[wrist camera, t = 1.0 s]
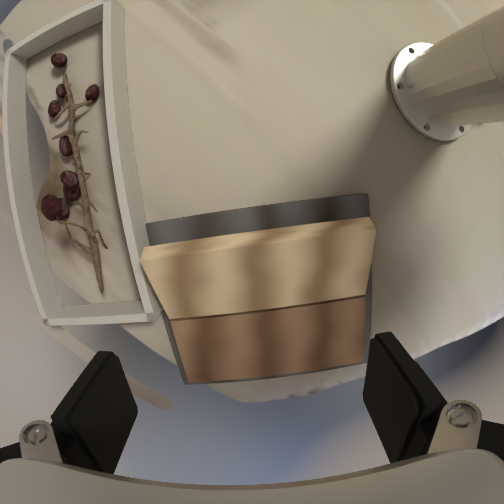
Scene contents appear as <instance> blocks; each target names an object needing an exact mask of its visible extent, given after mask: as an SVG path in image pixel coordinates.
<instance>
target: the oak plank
mask: <svg viewBox="0 0 504 504" xmlns="http://www.w3.org/2000/svg"><path fill="white" fill-rule="evenodd" d="M376 230H377V229H376V227H375V226H374V224H373V222H372V221H371V219H370V217H363V218H355V219H346V220H338V221H330V222H321V223H313V224H305V225H298V226H290V227H282V228H274V229H267V230H259V231H252V232H245V233H237V234H230V235H223V236H216V237H209V238H202V239H195V240H188V241H181V242H174V243H168V244H161V245H154V246H148V247H144V249H143V252H142V255H141V258H140V262H141V264H142V266H143V269H144V271H145V273H146V275H147V277H148V279H149V281H150V283H151V285H152V287H153V289H154V291H155V293H156V295H157V296H158V298H159V300H160V302H161V304H162V306H163V308H164V310H165V312H166V314H167V315H168V317H169V319H178V318H190V317H200V316H211V315H221V314H230V313H239V312H248V311H256V310H264V309H272V308H280V307H287V306H294V305H302V304H308V303H315V302H322V301H328V300H335V299H341V298H347V297H353V296H359V295H365V293H366V288H367V283H368V278H369V272H370V267H371V261H372V255H373V249H374V243H375V236H376Z"/></svg>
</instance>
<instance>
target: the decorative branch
mask: <svg viewBox="0 0 504 504" xmlns="http://www.w3.org/2000/svg"><path fill="white" fill-rule="evenodd" d="M51 62H52V64H53V65H54V66H55V67H57V68H62V67H64V66H65V65H67V64H66V63H67V57H66V56H65V55H64V54H62V53H55V54H53V55H52V57H51ZM65 72H66V69H65ZM63 80H64V84H59V85H58V86H57V88H56V94H57V96H58V97H59V98H65V100H64V104H63V108H62V109H61V107H60V104H59V102H58V101H56V100H53V101H52V102H51V103H50V105H49V108H48V113H49V115H50V117H55V118H54V120H56V119H57V118H58V117H59V116H60V115H61V114H62V113H63V111H64V110H66V109H67V108H68V107H70V118H69V126H68V129H67V130H66V131H65V132H63V133H61V134H59V135H57V136H55V137H54V138H52V139H56V138H59V137H61V138H60V141H59V148H60V151H61V153H62V154H63V155H64V156H71V155H72V154H73V155H72V156H71V158H73V157H74V158H75V163H76V170H77V174H76V173H74V172H72V171H63V172H62V174H61V175H60V179H61V182H62V183H63V184H64V185H63V192H64V196H65V197H66V199H67V200H69V201H74V200H75V199H77V198H78V197H79V194H80V189H81V195H82V201H83V204H82V203H80V202H73V203H74V204H77V205H80V206H81V207H82V209H83V212H84V225H85V227H86V229H87V230H86V229H85V228H84V227H82V226H79V225H76V224H72V223H68V222H63V221H57V222H61V223H65V225H66V224H70V225H74V226H78V227H80V228H81V229H83V230H84V231H85V232H86V233H87V234H88V236H89V240H90V245H91V248H88V247H86V246H84V245H83V244H81V243H80V242H78V241H77V240H76V239H75V240H73V239H72V237H71V235H70V233H69V230H68V228H67V225H66V228H67V231H68V234H69V236H70V238H71V239H72V241H73V242H75V243H77V244H78V245H79V246H80V247H81V249H82V250H83V251H84V252H85V253H87V254H91V255H92V257H93V262H94V267H95V272H96V276H97V280H98V285H99V288H100V291H101V293H103V281H102V273H101V265H100V255H99V248H98V242H97V239H96V236H95V233H96V232H98V233H99V236H100V238H101V240H102V243H103V245H104V246H105V248H106V249H108V248H107V246H106V244H105V243H104V241H103V239H102V236H101V234H100V231H99V230H93V228H92V223H91V217H90V209H89V205H90V206H91V207H92V208H93V209H94V210H95V211H96V212H97V210H96V209H95V207H94V205H93V204H92V202H91V201H90V200H89V198H88V195H87V189H86V184H85V180H84V178H85V175H87V174H91V173H85V172H84V168H83V164H82V162H81V157H80V153H79V149H78V145H77V142H78V139H79V137H80V134H81V133H82V132H85V133H88V132H87V131H79V133H78V135H77V138H76V139H75V137H74V122H75V121H76V120H77V119H78V118H79V117H80V116H79V115H77V116H75V111H76V110H77V109H78V108H80V107H82V106H84V105H86V104H88V103H90V102H91V101H94V100H95V99H97V97H98V96H99V87H98V86H97V85H96V84H94V85H91V86H90V87H89V88H88V89H87V90H86V93H85V97H86V99H87V100H88V101H87V102H83V103H80V104H74V101H73V96H72V92H71V89H70V85H69V83H68V78H67V75H66V73H63ZM70 84H71V83H70ZM67 96H68V103H67V104H66V105H65V102H66V97H67ZM60 110H61V111H60ZM79 184H80V185H79ZM79 187H80V189H79ZM41 209H42V212H43V214H44V216H45V217H46V218H47V219H48V220H50V221H54V220H57V219H59V220H64V221H65V219H66V218H67V217H68V216H69V206H68V204H67V202H66V201H65V200H64V199H62V198H57V197H56V196H55V195H52V194H48V195H46V196H45V197H44V198H43V199H42V201H41ZM97 213H98V212H97Z"/></svg>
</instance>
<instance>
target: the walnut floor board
mask: <svg viewBox="0 0 504 504" xmlns="http://www.w3.org/2000/svg"><path fill="white" fill-rule="evenodd" d="M363 217H370V216H369V202H368V194H358V195H348V196H339V197H329V198H320V199H312V200H303V201H295V202H287V203H279V204H271V205H263V206H256V207H249V208H242V209H235V210H228V211H221V212H214V213H208V214H201V215H195V216H189V217H182V218H176V219H170V220H164V221H159V222H153V223H147V224H145V225H146V230H147V235H148V240H149V245H150V246H154V245H161V244H168V243H174V242H181V241H188V240H195V239H202V238H209V237H216V236H223V235H230V234H237V233H245V232H252V231H259V230H267V229H274V228H282V227H290V226H298V225H305V224H313V223H321V222H330V221H338V220H346V219H355V218H363ZM371 291H372V274H371V267H370V272H369V278H368V283H367V288H366V293H365V295H359V296H353V297H347V298H341V299H335V300H328V301H322V302H315V303H308V304H302V305H294V306H287V307H280V308H272V309H264V310H256V311H248V312H239V313H230V314H221V315H211V316H200V317H190V318H178V319H169V317H168V315H167V314H166V312H165V310H164V309H163V310H162V314H163V317H164V321H165V324H166V328H167V331H168V334H169V338H170V341H171V344H172V348H173V351H174V354H175V357H176V360H177V363H178V366H179V369H180V372H181V375H182V378H183V381H184V384H208V383H224V382H238V381H249V380H259V379H269V378H277V377H285V376H293V375H300V374H307V373H313V372H319V371H325V370H331V369H337V368H342V367H347V366H352V365H357V364H362V363H367V362H368V355H369V346H370V330H371Z"/></svg>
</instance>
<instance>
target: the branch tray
mask: <svg viewBox="0 0 504 504" xmlns="http://www.w3.org/2000/svg"><path fill="white" fill-rule="evenodd" d="M100 22H103V73H104V91H105V105H106V116H107V126H108V135H109V144H110V151H111V159H112V166H113V172H114V179H115V185H116V191H117V197H118V202H119V207H120V213H121V218H122V223H123V228H124V232H125V237H126V241H127V246H128V250H129V254H130V259H131V263H132V267H133V271H134V275H135V279H136V282H137V286H138V290H139V293H140V297H141V300H135V301H124V302H112V303H100V304H87V305H74V306H62V304H61V301H60V298H59V295H58V292H57V289H56V286H55V283H54V279H53V276H52V273H51V269H50V266H49V262H48V258H47V254H46V251H45V247H44V242H43V238H42V234H41V229H40V225H39V220H38V215H37V210H36V205H35V199H34V193H33V187H32V179H31V172H30V164H29V154H28V142H27V127H26V68H27V59H29V58H30V57H32V56H34V55H35V54H37V53H39V52H41V51H42V50H44V49H46V48H48V47H50V46H51V45H53V44H55V43H57V42H59V41H61V40H63V39H65V38H67V37H69V36H71V35H73V34H75V33H77V32H79V31H82V30H84V29H86V28H88V27H91V26H93V25H95V24H98V23H100ZM3 141H4V155H5V165H6V175H7V182H8V190H9V196H10V202H11V208H12V214H13V219H14V224H15V229H16V233H17V238H18V242H19V246H20V250H21V254H22V257H23V261H24V265H25V269H26V272H27V275H28V279H29V282H30V285H31V288H32V291H33V294H34V297H35V300H36V303H37V306H38V309H39V311H40V314H41V317H42V319H43V322H44V325H45V326H58V325H93V324H115V323H133V322H149V321H156V320H157V318H158V317H159V315H160V313H161V312H162V310H163V309H164V308H163V306H162V304H161V302H160V300H159V298H158V296H157V295H156V293H155V291H154V289H153V287H152V285H151V283H150V281H149V279H148V277H147V275H146V273H145V271H144V269H143V266H142V264H141V262H140V258H141V255H142V252H143V249H144V247H148V246H150V245H149V240H148V235H147V230H146V225H145V224H146V219H145V213H144V208H143V203H142V197H141V191H140V185H139V179H138V173H137V166H136V160H135V153H134V145H133V138H132V130H131V121H130V112H129V102H128V90H127V77H126V62H125V39H124V7H123V6H122V5H121V4H120V3H119V2H118V1H117V0H96V1H94V2H92V3H90V4H87V5H85V6H83V7H81V8H79V9H77V10H75V11H73V12H71V13H69V14H67V15H65V16H63V17H61V18H59V19H57V20H55V21H53V22H52V23H50V24H48V25H46V26H44V27H43V28H41V29H39V30H38V31H36V32H34V33H33V34H31V35H29V36H28V37H26V38H25V39H23V40H22V41H20V42H19V43H17V44H16V45H14V46H13V47H11V48H10V49H8V50H7V51H6V55H5V66H4V79H3Z"/></svg>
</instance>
